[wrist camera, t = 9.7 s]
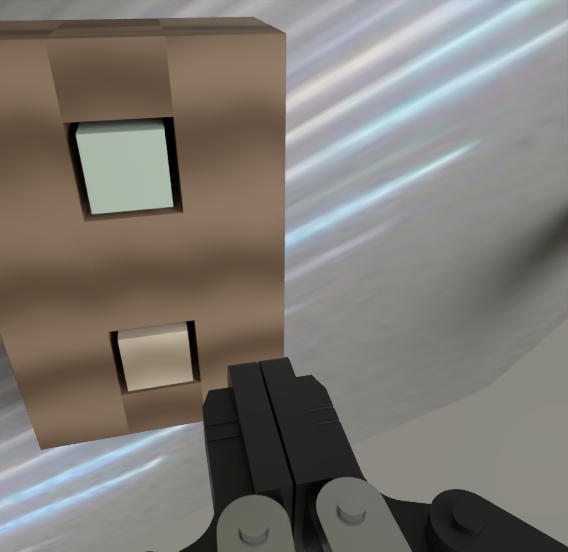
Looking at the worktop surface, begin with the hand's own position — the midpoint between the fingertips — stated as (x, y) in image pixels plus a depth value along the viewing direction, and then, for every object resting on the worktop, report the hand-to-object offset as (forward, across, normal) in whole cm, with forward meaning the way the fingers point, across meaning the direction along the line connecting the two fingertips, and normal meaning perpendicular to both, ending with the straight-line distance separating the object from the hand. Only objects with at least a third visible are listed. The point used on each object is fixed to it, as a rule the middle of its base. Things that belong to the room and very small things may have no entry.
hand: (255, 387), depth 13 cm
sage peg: (+24, +3, 0) cm, 24 cm away
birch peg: (+24, +3, +12) cm, 27 cm away
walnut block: (+24, +3, +6) cm, 25 cm away
